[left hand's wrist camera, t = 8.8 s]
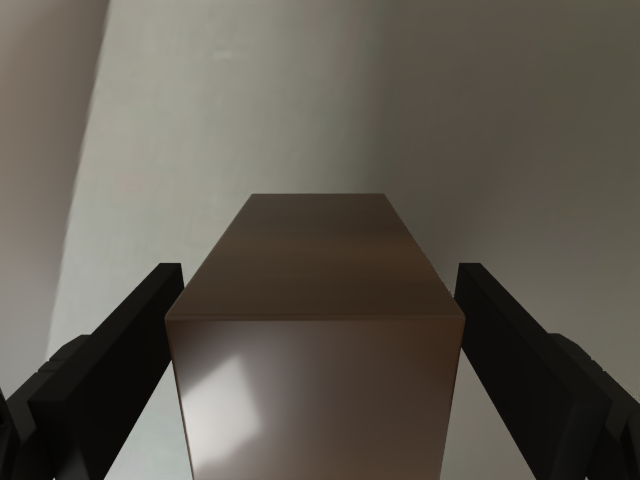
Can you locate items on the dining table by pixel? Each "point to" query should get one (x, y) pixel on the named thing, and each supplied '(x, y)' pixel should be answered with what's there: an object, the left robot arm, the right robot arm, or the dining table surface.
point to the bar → (315, 346)
